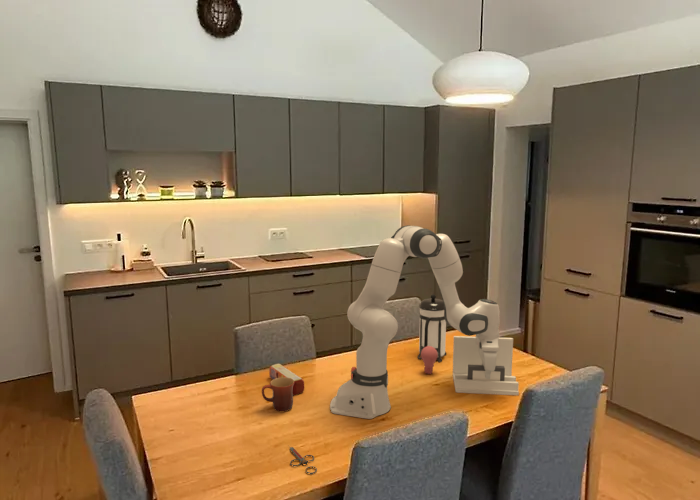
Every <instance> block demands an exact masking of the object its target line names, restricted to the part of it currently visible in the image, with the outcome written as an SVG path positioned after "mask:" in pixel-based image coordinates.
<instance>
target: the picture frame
mask: <svg viewBox="0 0 700 500" xmlns="http://www.w3.org/2000/svg"><path fill="white" fill-rule="evenodd" d="M504 378H505V367H504V366H495V370H494V371H491V374H490V379H486V378H485V369H484V366H483V365H468V377H467V379H468V380H491V381H504Z"/></svg>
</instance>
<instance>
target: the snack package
mask: <svg viewBox="0 0 700 500" xmlns="http://www.w3.org/2000/svg"><path fill="white" fill-rule="evenodd" d="M268 372H269V373H268V374H269V375H268V376H269V378H270V379H272V380H273V379H276V378H280V377H288V378H291V379H293V380H294V385H293V396H297V395H296V394H298V395H300V394H299V393H301V394H302V393H304V391H305V380H304V379H303V378H302V377H300V376H299V375H297V374H296V373H294V372H293V371H291V370H290V369H288V368H286V367H285V366H284V365H282V364H281V363H275V364H272V365H270V366H269V369H268Z"/></svg>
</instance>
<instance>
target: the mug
mask: <svg viewBox="0 0 700 500" xmlns="http://www.w3.org/2000/svg"><path fill="white" fill-rule="evenodd" d="M269 383H270V384H265V385H264V386H262V388H261V395H262V398H263V399H264V400H265V401H267V402H270V403H272V406H273V409H274V410H275V411H276V412H280V411H284V412H288V411H289V410H292V408H293V405H294V395H293V385H294V380H293V379H291V378H288V377H280V378H276V379H272V380H271V381H270V382H269ZM265 389H271V390H272V397H267V396H266V395H265ZM287 410H288V411H287Z"/></svg>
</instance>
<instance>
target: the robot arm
mask: <svg viewBox="0 0 700 500" xmlns="http://www.w3.org/2000/svg"><path fill="white" fill-rule="evenodd" d="M408 257H413V258H419V259H428V262H429V264H430V265H429V266H430V267H431V270H432V272H433V276H434V277H435V280H436V282H437V286H438V289H439V292H440V296H441V298H442V299H441V300H443V302H444V318H445V321H446V325H448V326H450V327H452V328H453V329H455V330H457V331H458V332H460V333H461V334H463V335H466V336H469V337H473V336H475V337H476V344H477V345H478V346H479V354H480V357H481V360H482V365H483V366H484V369H485V378H486V379H490V374H491V371H494V370H495V366H496V358H497V352H498V351H499V338H500V331H499V327H500V324H501V322H500V321H501V320H500V319H501V316H500V315H501V311H500V305H499V304H498V302H496V301H494V300H492V299H488V298H487V299H486V298H482V299H481V298H480V299H479V300H478V301H477V302H476V303H475V304H473V305H472V306H469V307H467V306H465V304H464V303H462V302H461V300H460V298H459V294H458V291H457V287H456V283H457V282H458V281H459V280H460V279H461V278H462V276H463V273H464V271H463V270H464V269H463V263H462V261H461V259H460V258H461V257H460V256H459V253H458V251H457V248H456V246H455V244H454V243H453V241H452V239H451V237H449V236H448V234H445V233H435V232H434V231H432V230H430V229H429V228H425V227H424V228H423V227H422V226H418V225H404V226H400V227H399V228H398V229H396V231H395V232H394V233H393V235H392V236H391V237H387V238H384V239H382V240H381V241H380V242H379V244H378V247H377V248H376V250H375V253H374V256H373V258H372V261H371V265H370V267H369V271H368V274H367V278H366V282H365V285H364V287H363V288H362V290H361V292H360V294H359V295H358V297H357V299H355V301H353V302H352V303H350V305H349V306H348V308H347V312H346V314H347V319H348V321H349V322H350V324H351V325H352V326H353V328H355V329H356V330H358V331H360V332H361V334H362V340H361V344H360V346H359V347H358V348H357V349H356V353H355V354H356V363H355V364H356V366H352V367H351V370H350V379H349V380H348V381H346V382H344V383H342V385H341V386H339V387H338V390H337V393H336V395H335V396H334V397H332V399H331V401H330V404H329V410H331V411H330V413H332V414H335V415H341V416H348V417H355V418H360V419H361V418H362V419H368V420H372V419H373V418H376V417H378V416H381V415H384V414H386V413H388V412H389V411H390V410H391V408H392V405H391V403H390V399H389V391H388V384H389V374H388V373H389V372H388V369H387V365H388V363H387V359H388V358H387V357H388V348H389V344H390V341H391V340H392V339H393V338H394V337H395V336H396V335H397V333H398V330H399V323H398V321H397V319H396V318H395V317H394V316H393V314H392V313H390V312H389V311H388V310H386V309H384V306H385V304H386V303H387V301H388V300H389V298H391V297H392V296H394V295H395V294H396V291H397V287H398V284H399V281H400V279H401V278H400V277H401V273H402V271H403V265H404V263H405V261H406V260H407V258H408Z"/></svg>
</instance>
